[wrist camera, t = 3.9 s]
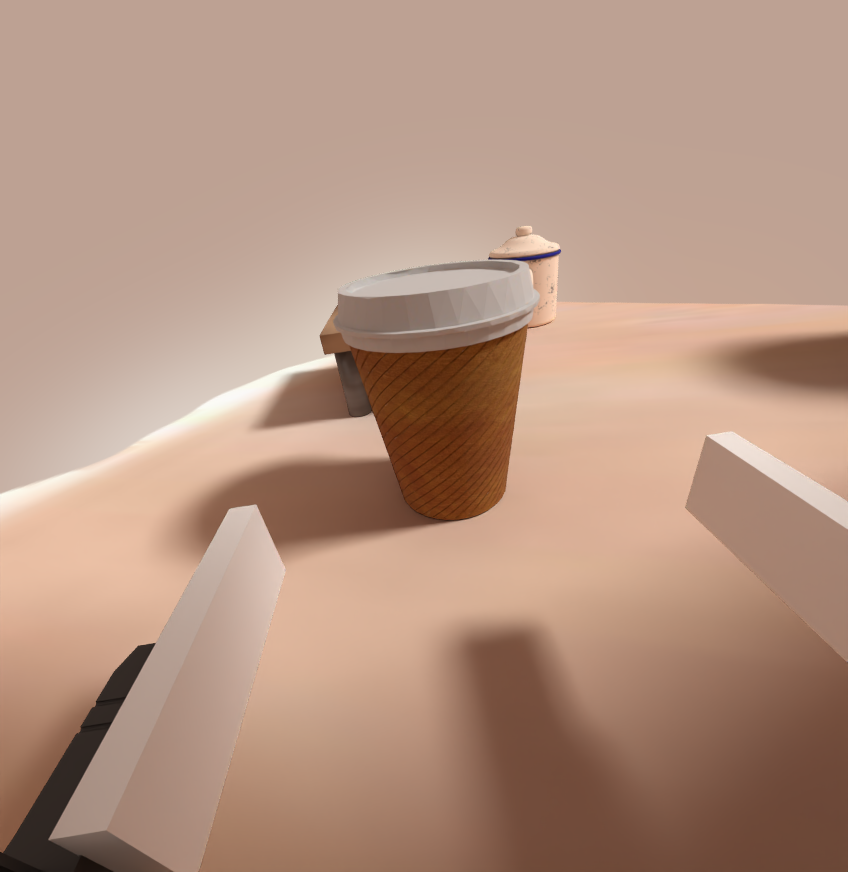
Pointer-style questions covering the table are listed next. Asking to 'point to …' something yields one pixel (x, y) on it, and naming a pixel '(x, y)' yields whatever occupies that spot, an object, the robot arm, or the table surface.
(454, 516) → the disposable coffee cup
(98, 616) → the table surface
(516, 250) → the teacup with lid
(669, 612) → the table surface
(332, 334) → the peg shelf
